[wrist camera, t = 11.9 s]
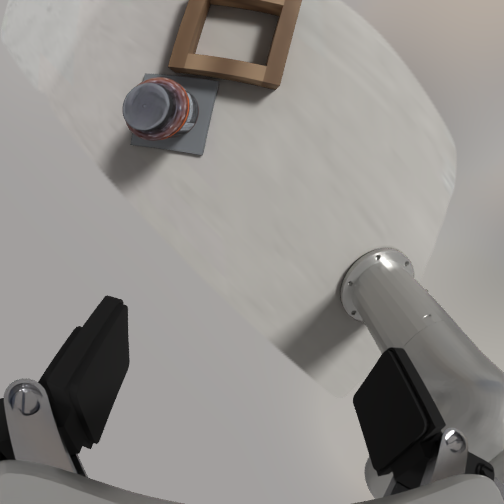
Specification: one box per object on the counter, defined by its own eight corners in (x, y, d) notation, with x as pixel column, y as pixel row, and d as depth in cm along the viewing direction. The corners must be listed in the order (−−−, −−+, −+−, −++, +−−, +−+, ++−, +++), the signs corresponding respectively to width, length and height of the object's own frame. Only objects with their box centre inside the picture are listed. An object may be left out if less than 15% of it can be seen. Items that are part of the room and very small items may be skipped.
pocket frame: (296, 9, 24) (302, -2, 21) (275, 89, 29) (279, 85, 25) (200, -8, 22) (196, -20, 19) (174, 72, 27) (167, 66, 24)
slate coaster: (219, 82, 28) (219, 81, 27) (203, 154, 31) (202, 155, 31) (146, 74, 27) (145, 73, 26) (132, 144, 30) (130, 144, 30)
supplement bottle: (145, 134, 29) (104, 138, 19) (156, 86, 27) (118, 69, 17) (194, 141, 30) (171, 147, 20) (205, 92, 28) (188, 74, 18)
